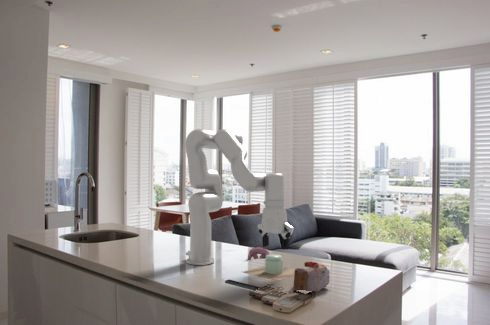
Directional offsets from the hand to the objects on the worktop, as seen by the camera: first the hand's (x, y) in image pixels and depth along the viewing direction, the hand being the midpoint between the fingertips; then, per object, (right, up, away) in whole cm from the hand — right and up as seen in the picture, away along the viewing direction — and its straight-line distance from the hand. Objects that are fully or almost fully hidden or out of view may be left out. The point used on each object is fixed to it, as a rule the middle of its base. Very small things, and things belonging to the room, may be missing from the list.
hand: (275, 247), depth 157 cm
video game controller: (-6, -12, +27) cm, 30 cm away
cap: (-1, -10, 0) cm, 10 cm away
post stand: (-1, -11, 0) cm, 11 cm away
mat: (-11, -11, -12) cm, 19 cm away
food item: (+11, -11, -18) cm, 24 cm away
